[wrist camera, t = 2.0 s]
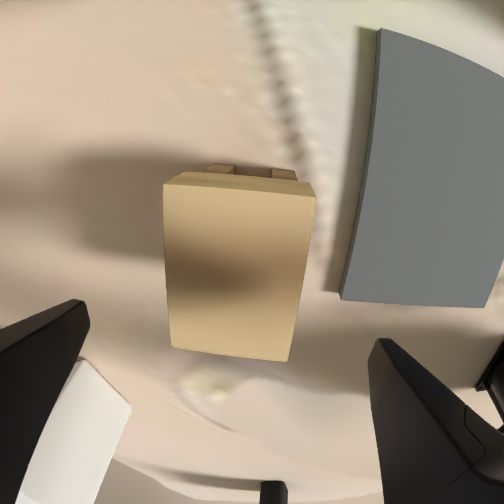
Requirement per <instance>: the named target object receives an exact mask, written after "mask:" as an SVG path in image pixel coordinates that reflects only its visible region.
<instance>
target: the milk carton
mask: <svg viewBox="0 0 504 504" xmlns="http://www.w3.org/2000/svg"><path fill="white" fill-rule="evenodd" d="M131 411H132V406H131V405H130V404H129V403H128V402H127V401H126V400H125V399H124V398H123V397H122V396H120V395H119V394H118V393H117V392H116V391H115V390H114V389H113V388H112V387H111V386H110V385H109V384H108V383H107V382H106V381H105V380H104V379H103V378H102V377H101V376H100V374H99V373H98V372H97V371H96V370H95V369H94V368H93V367H92V366H91V365H90V364H89V363H88V362H87V361H86V360H81V361H79V362H76V363H75V365H74V367H73V369H72V371H71V373H70V375H69V377H68V379H67V381H66V383H65V385H64V387H63V389H62V391H61V393H60V395H59V397H58V399H57V401H56V403H55V405H54V407H53V410H52V412H51V414H50V416H49V418H48V420H47V423H46V425H45V427H44V429H43V432H42V434H41V436H40V439H39V441H38V443H37V446H36V448H35V451H34V453H33V456H32V458H31V461H30V463H29V465H28V469H27V471H26V474H25V477H24V479H23V482H22V485H21V488H20V491H19V494H18V497H17V500H16V503H15V504H93V503H94V501H95V498H96V496H97V493H98V490H99V488H100V485H101V483H102V480H103V478H104V475H105V473H106V470H107V468H108V465H109V463H110V460H111V458H112V456H113V453H114V451H115V448H116V446H117V444H118V441H119V439H120V436H121V434H122V432H123V429H124V427H125V425H126V422H127V420H128V418H129V416H130V413H131Z"/></svg>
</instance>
